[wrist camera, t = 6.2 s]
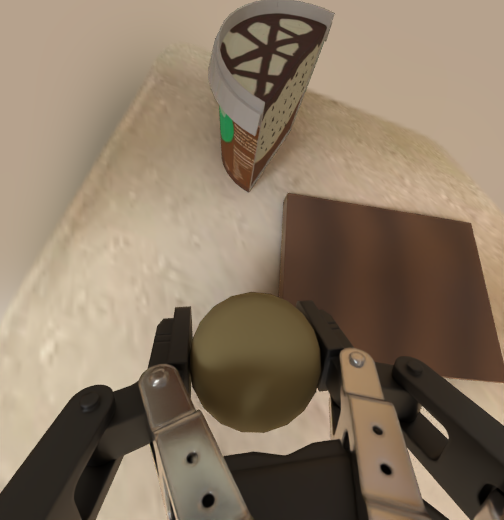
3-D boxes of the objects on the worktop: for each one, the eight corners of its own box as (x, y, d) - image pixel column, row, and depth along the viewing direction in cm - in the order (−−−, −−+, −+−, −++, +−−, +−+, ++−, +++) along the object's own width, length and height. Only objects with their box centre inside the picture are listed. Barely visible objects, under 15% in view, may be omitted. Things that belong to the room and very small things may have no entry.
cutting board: (274, 361, 20) (279, 361, 19) (283, 201, 25) (287, 192, 24) (490, 382, 22) (509, 383, 21) (458, 229, 27) (471, 222, 26)
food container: (247, 94, 30) (264, -28, 20) (296, 121, 29) (337, 9, 20) (182, 171, 25) (167, 58, 16) (241, 204, 25) (260, 108, 15)
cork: (208, 425, 18) (213, 504, 8) (178, 337, 20) (148, 307, 9) (288, 383, 20) (377, 402, 9) (254, 305, 21) (299, 251, 11)
